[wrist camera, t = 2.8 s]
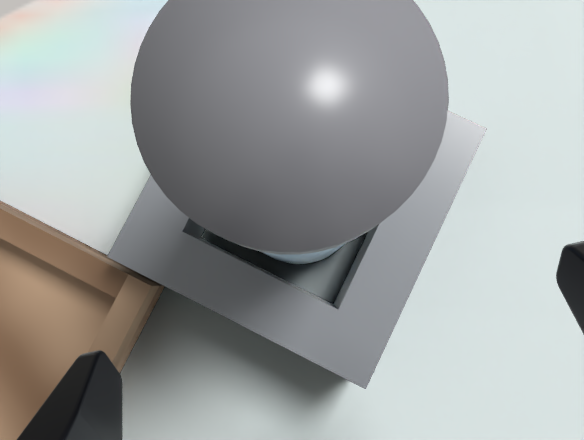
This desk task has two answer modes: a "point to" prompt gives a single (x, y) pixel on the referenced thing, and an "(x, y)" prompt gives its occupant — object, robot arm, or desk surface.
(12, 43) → the desk surface
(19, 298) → the tray
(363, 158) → the ball
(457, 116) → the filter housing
